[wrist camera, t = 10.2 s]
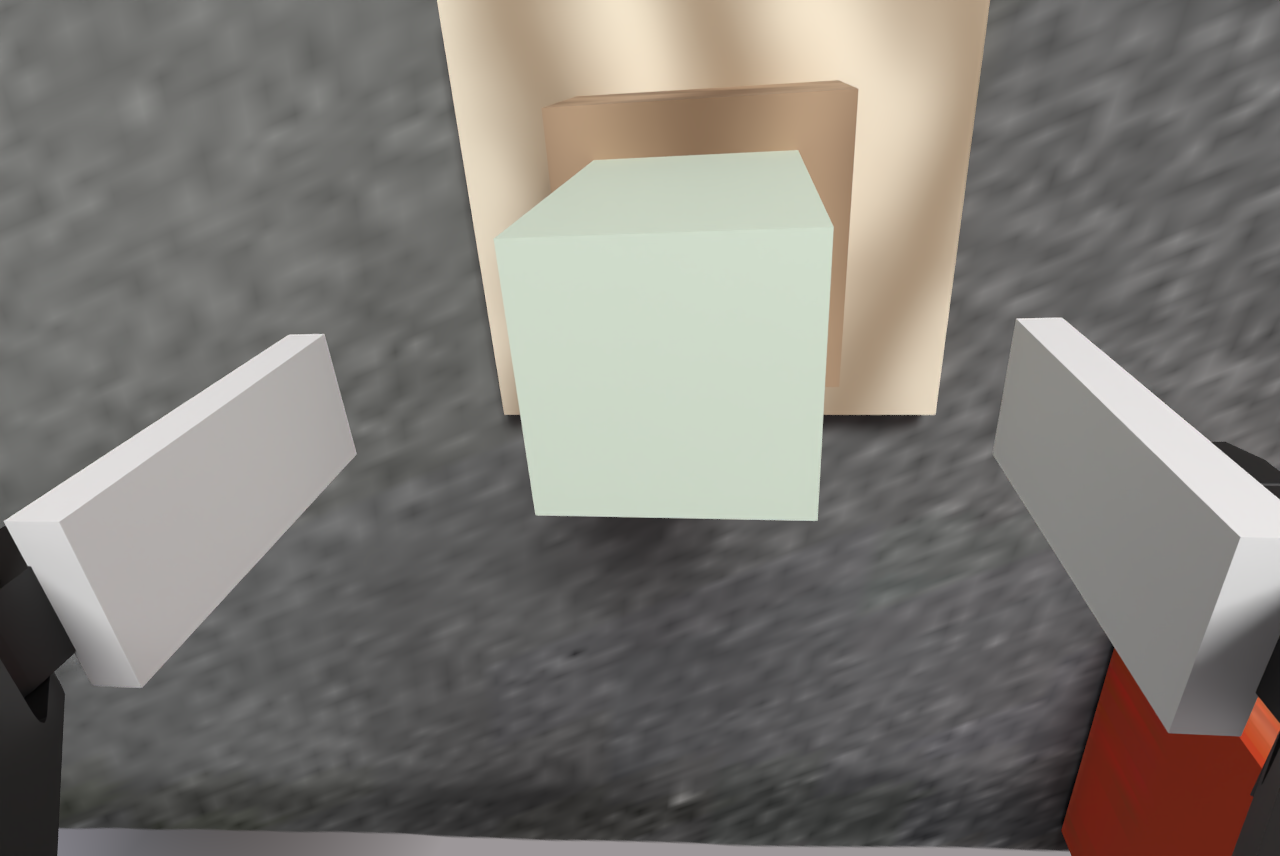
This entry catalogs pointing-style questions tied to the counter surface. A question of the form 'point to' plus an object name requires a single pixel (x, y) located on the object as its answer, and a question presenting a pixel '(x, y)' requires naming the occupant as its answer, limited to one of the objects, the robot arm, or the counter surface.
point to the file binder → (1161, 780)
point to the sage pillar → (672, 337)
